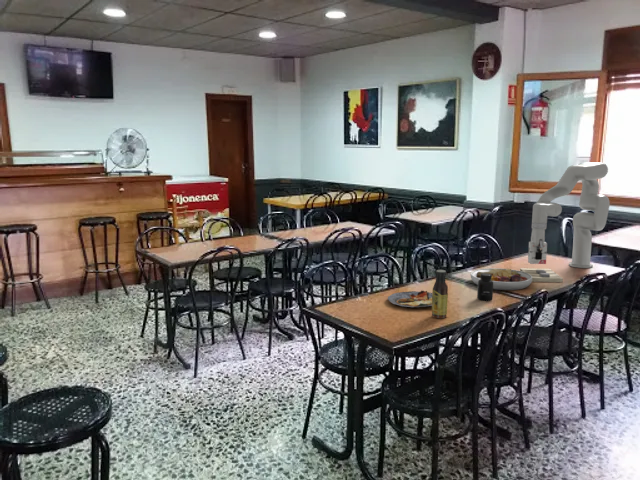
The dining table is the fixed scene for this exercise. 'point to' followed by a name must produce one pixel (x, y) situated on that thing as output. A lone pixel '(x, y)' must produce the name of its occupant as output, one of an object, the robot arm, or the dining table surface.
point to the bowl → (504, 278)
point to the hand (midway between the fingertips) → (537, 258)
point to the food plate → (412, 299)
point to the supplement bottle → (485, 288)
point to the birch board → (538, 278)
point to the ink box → (533, 253)
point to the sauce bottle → (440, 295)
